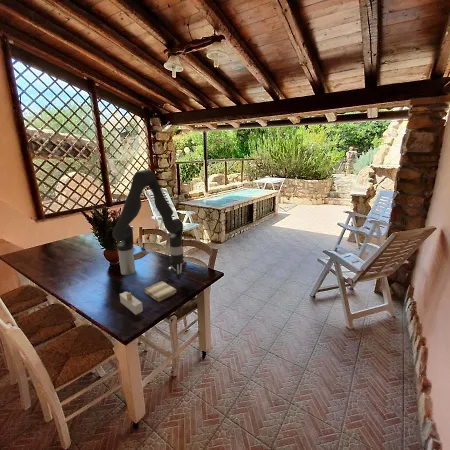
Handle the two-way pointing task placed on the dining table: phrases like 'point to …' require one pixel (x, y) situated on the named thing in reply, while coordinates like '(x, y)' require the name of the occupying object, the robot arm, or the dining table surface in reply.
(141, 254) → the wooden fragment
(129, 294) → the block
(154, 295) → the maple plate
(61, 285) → the dining table surface
